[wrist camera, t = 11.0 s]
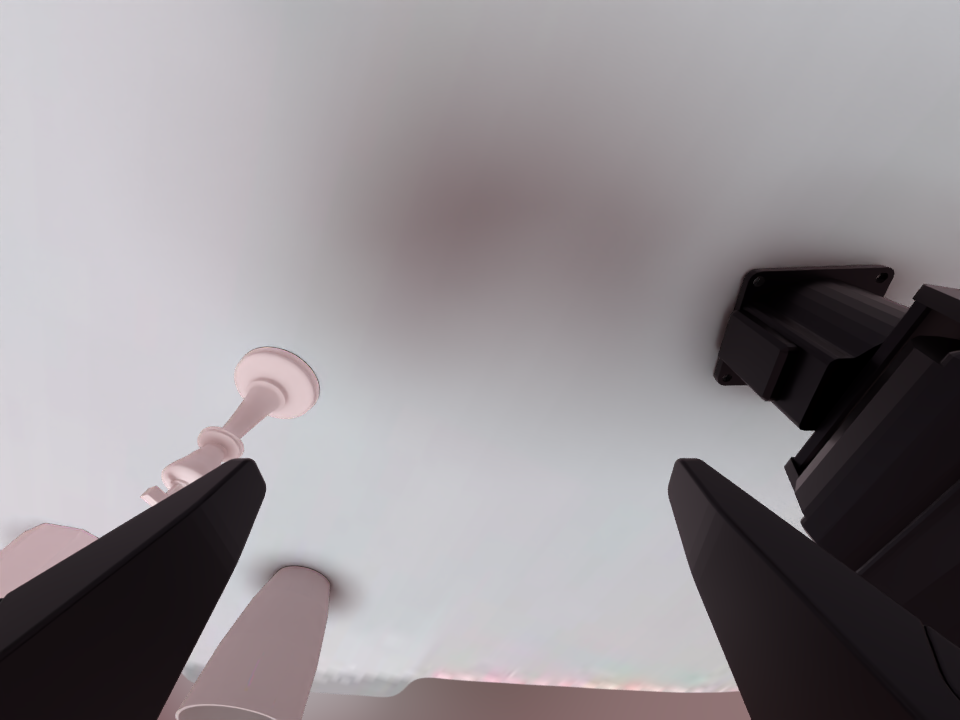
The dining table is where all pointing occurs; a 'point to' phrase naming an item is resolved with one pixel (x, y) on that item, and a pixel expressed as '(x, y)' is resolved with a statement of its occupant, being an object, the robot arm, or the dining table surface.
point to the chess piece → (245, 414)
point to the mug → (38, 553)
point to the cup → (266, 654)
